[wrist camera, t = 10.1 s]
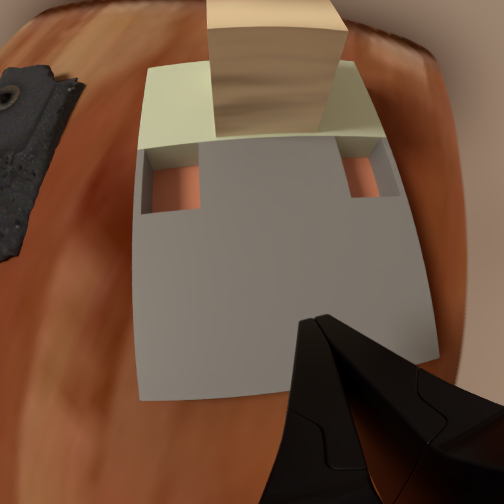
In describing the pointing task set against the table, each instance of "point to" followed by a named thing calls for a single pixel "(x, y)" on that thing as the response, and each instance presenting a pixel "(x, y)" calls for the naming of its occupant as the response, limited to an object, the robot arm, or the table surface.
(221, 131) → the maple block
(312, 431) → the robot arm
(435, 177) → the table surface
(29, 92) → the dark slate chunk
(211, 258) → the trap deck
